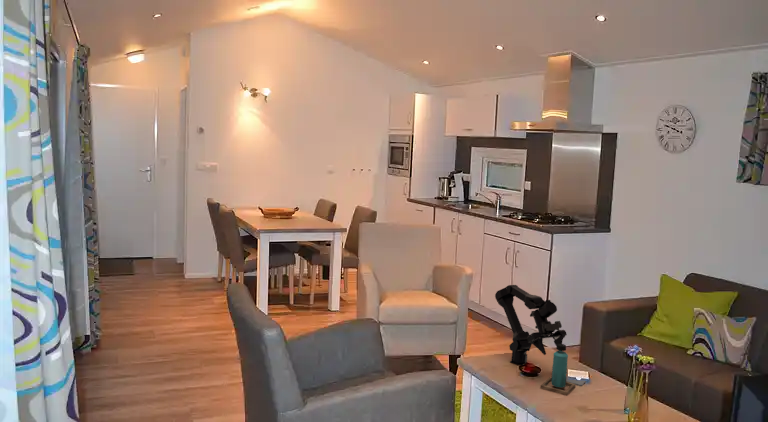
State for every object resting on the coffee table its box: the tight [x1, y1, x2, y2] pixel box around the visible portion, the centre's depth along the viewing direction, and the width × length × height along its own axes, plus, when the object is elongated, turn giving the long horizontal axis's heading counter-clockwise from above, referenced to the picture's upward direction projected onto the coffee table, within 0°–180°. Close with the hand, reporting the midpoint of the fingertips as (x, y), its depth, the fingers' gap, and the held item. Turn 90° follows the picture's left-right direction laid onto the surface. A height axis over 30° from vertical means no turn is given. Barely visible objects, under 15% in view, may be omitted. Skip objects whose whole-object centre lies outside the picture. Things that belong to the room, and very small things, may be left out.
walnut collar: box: [539, 377, 576, 396], centre depth 291 cm, size 12×12×2 cm
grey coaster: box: [566, 378, 587, 387], centre depth 301 cm, size 10×10×1 cm
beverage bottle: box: [550, 343, 569, 388], centre depth 290 cm, size 6×7×20 cm
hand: (553, 353), depth 297 cm, fingers open, 9 cm apart
